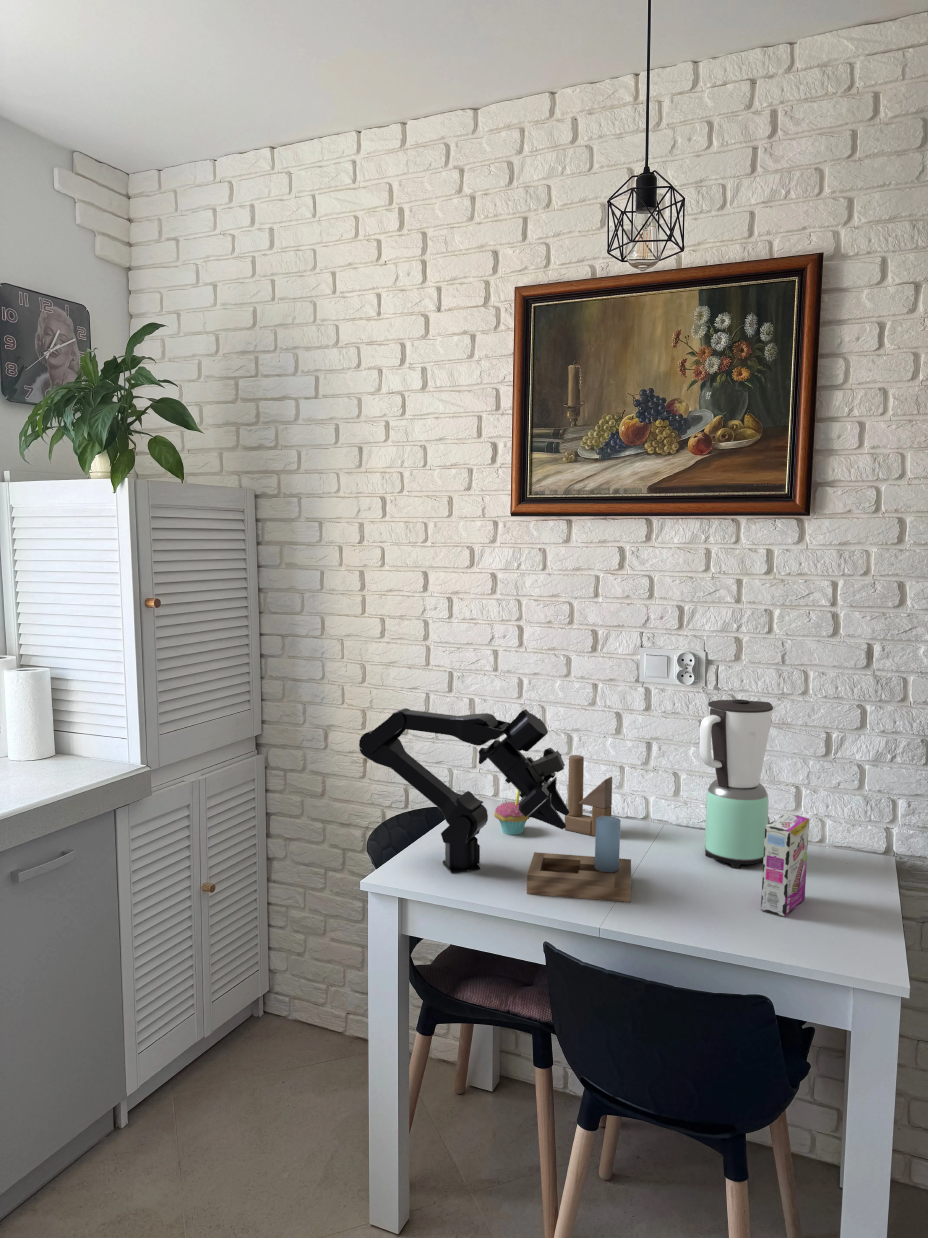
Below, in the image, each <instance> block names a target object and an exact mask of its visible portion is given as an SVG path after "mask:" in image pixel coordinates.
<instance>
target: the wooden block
mask: <svg viewBox="0 0 928 1238" xmlns="http://www.w3.org/2000/svg"><path fill="white" fill-rule="evenodd" d="M584 759H585V757H584V755H579V754H572V755H569V756H568V779H567V780H568V788H567V789H568V790H567V791H568V792H567V808H568V810H569V814H568V815H566V816H565V815H564V823H565V824H566V827H565V828H564V830H565V831H568V832H573V833H578V834H583V835H587V836H593V837H596V818H597V817H600V816H612V804H613V803H612V802H613V801H612V800H613V776H612V775H611V776H609V777H608V778H605V779H603V781H602V782H601V783H599V784H598V785H597V786H596V787H595V788H594V789H592V791H591V792H590V793H589V792H588V794H587V795H586V796H585V797H584V772H585V771H584V765H585V764H584V763H585V760H584ZM584 806H589V807H591V815H587V814H584Z"/></svg>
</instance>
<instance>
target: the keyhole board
mask: <svg viewBox="0 0 928 1238" xmlns="http://www.w3.org/2000/svg"><path fill="white" fill-rule="evenodd" d="M631 893H632V859H631V858H620V857H619V870H618V871H615V872H614V873H609V872H599V870H597V869H595V856H591V855H590V856H589V855H577V854H564V853H550V852H538V851H537V852H536V851H535V852H533V856H532V858H531V861H530V864H529V868H528V871H527V874H526V894H527V895H536V896H548V897H549V896H550V897H551V896H552V897H560V896H561V898H573V899H574V898H575V899H586V900H600V901H609V900H610V902H621V901H624V903H631V901H632V899H631V897H632V894H631Z"/></svg>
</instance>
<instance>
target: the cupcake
mask: <svg viewBox="0 0 928 1238" xmlns="http://www.w3.org/2000/svg"><path fill="white" fill-rule="evenodd" d="M519 795H520V792H519V791H518V789H516V796H515V797H516V798H515V801H508V802H507V801H506V802H502V803H500V804H499V805H497V806H496V808H495V810H494V817H495V819H497V820H498V821H499V824H500V826H501V829H502V833H504V834H506V835H510V836H512V835H513V836H515V835H516V836H517V835H521V834H522V833H523V832H524V828H525V826H526V823H527V821H528V820H529V819H530V817H528V816H526V817H525V816H524V815H523V814H522V813H521V812H520V811H519V802H520V800H519V799H520V796H519Z"/></svg>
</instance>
